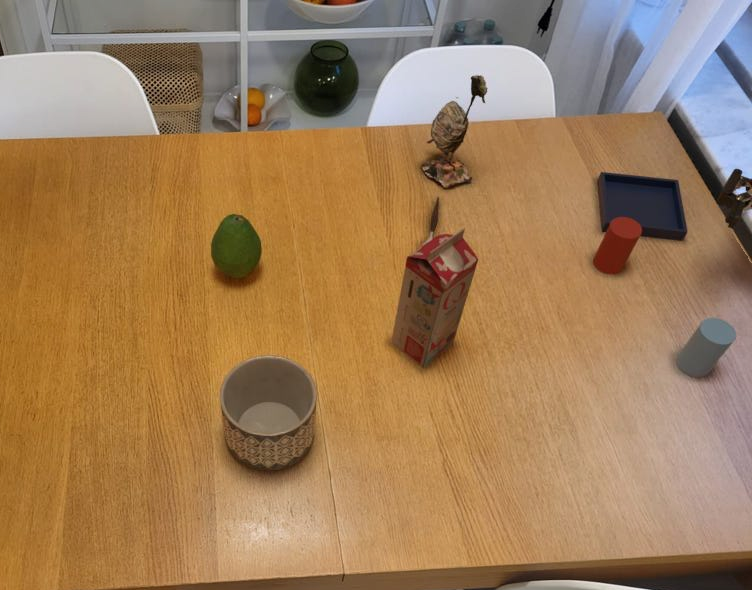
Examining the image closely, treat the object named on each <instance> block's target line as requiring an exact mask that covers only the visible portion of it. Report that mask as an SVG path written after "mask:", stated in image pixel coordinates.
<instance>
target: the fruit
mask: <svg viewBox="0 0 752 590" xmlns="http://www.w3.org/2000/svg"><path fill="white" fill-rule="evenodd" d="M262 253H263V249H262V240H261V238H260V237H259V234H258V232H257V231H256V229H255V227H254V226H253V225H252V223H251V222H250V221H249V220H248V219H247V218H246V217H245V216H244V215H242V214H235V213H232V214H228V215H226V216H225V217H224V218H223V219H222V220H221V221H220V223H219V225H218V227H217V228H216V231H214V234H213V237H212V239H211V242H210V256H211V259H212V262H213V264H214V266H215V268H217V269H218V271H220V273H222V274H223V275H224V276H226V277H228V278H231V279H243V278H246V277H247V276H249V275H250V274H252V273H253V272H254V271H255V269H256V268H257V267H258V265H259V263H260V261H261V258H262Z"/></svg>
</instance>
